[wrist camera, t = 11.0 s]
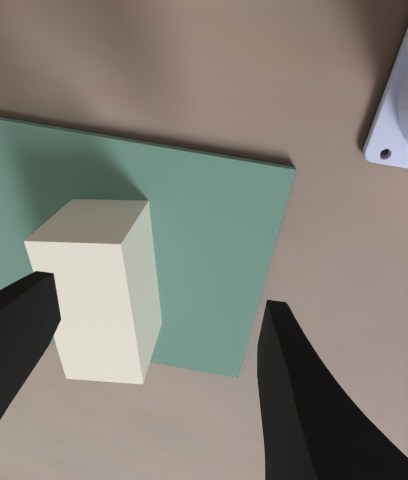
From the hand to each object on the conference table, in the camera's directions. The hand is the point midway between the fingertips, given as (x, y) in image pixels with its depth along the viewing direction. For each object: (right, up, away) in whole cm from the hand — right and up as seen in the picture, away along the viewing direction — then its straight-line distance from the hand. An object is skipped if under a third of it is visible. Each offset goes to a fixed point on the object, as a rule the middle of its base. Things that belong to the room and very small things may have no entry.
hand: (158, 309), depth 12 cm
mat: (-4, +1, +11) cm, 11 cm away
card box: (-4, +1, +10) cm, 11 cm away
